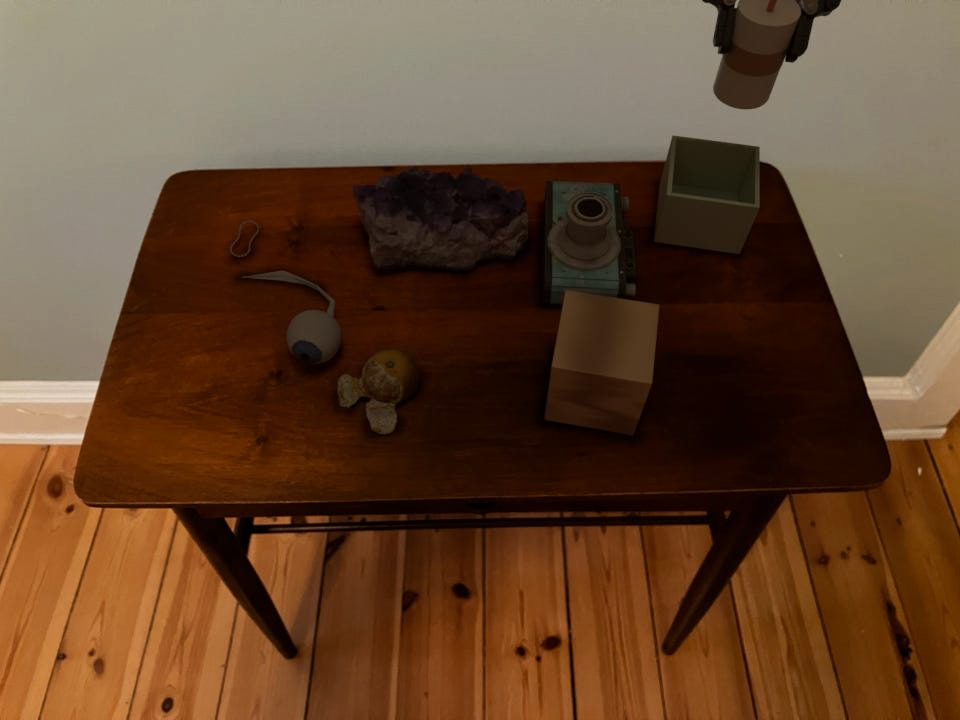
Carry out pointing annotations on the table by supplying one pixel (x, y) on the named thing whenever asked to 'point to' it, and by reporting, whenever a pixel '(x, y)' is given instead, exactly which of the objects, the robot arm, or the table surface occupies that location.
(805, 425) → the table surface
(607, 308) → the stand
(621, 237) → the camera
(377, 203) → the geode
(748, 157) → the bin
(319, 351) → the novelty item
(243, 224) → the necklace
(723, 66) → the paper cup
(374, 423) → the fruit
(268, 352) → the table surface
